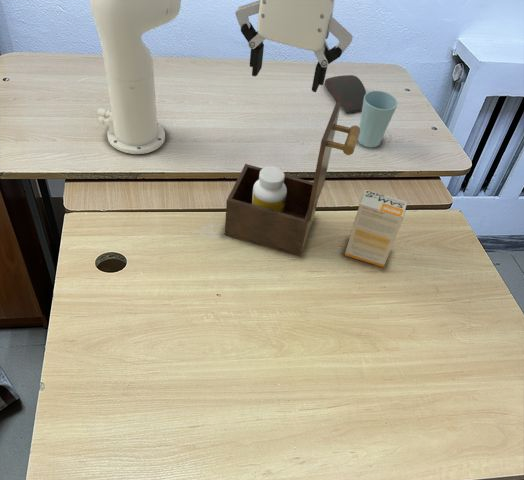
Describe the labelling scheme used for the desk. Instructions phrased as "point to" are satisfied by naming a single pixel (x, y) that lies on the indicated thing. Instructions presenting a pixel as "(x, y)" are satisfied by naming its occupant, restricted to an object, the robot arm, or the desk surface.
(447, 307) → the desk surface
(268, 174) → the pill bottle
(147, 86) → the robot arm
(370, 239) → the supplement box
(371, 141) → the cup
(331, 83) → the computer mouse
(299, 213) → the chest
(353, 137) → the lid
